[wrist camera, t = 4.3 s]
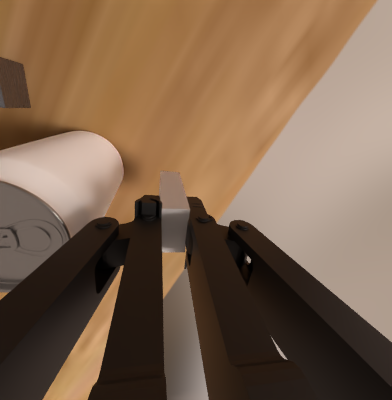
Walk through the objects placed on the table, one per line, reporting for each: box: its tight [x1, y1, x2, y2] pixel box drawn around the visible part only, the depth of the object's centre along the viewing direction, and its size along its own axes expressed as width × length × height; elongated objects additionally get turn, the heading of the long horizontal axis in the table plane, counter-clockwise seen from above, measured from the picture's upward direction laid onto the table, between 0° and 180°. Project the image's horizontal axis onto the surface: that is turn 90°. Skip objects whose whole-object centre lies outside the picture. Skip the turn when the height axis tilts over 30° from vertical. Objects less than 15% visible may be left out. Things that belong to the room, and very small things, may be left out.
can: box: [0, 131, 124, 292], centre depth 14 cm, size 6×6×12 cm
